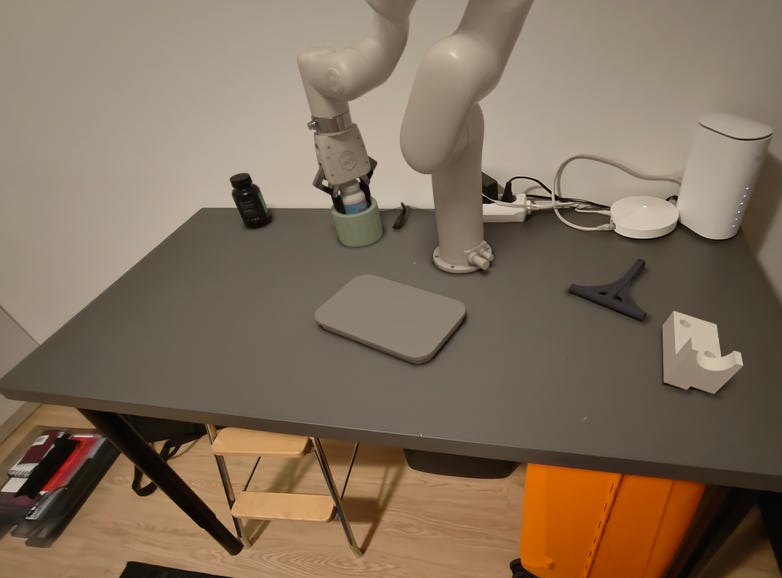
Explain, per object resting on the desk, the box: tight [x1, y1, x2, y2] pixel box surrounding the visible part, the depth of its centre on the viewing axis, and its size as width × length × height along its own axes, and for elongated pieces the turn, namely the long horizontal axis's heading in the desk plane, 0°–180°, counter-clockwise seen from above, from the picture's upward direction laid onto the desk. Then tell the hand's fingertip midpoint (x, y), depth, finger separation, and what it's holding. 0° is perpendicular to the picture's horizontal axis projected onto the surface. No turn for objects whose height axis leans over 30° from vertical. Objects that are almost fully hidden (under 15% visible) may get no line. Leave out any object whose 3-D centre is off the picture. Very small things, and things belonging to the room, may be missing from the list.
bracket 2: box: [662, 310, 744, 395], centre depth 70 cm, size 13×7×8 cm, turn 163°
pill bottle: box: [338, 178, 368, 215], centre depth 104 cm, size 6×6×11 cm
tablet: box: [314, 274, 467, 365], centre depth 85 cm, size 16×26×2 cm, turn 59°
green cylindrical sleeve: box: [330, 196, 384, 248], centre depth 107 cm, size 10×10×8 cm
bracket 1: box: [568, 258, 648, 322], centre depth 86 cm, size 14×15×3 cm
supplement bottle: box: [229, 172, 272, 229], centre depth 115 cm, size 7×7×12 cm
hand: (353, 205), depth 104 cm, fingers closed on pill bottle, 6 cm apart
